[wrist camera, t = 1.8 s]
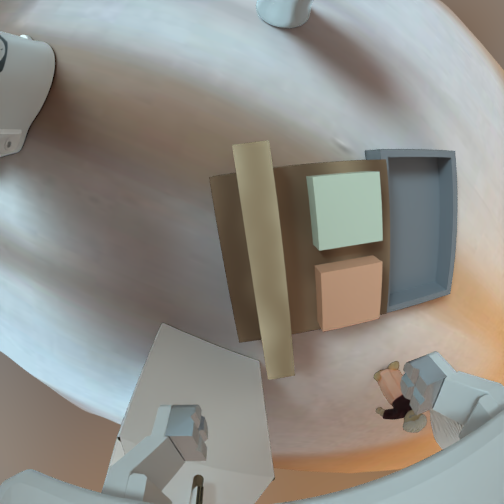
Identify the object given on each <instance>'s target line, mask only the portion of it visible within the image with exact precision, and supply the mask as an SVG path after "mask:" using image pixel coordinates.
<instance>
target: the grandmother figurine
mask: <svg viewBox="0 0 504 504" xmlns="http://www.w3.org/2000/svg"><path fill="white" fill-rule="evenodd" d="M398 368H399V363H398V362H397V361H395V362H393V363H391V364H390V365H389V367H388V369H385V370H380V371H378V372H377V373H376V374H375V375H374V379H375V380H376V381H377V382H378V384H379V386H380V388H381V390H382V393H383V394H384V396H385V397H386V399H387V401H388V402H389V403H390V404H391V405H392V406H393V407H394V409H388V410H385V409H382V408H381V407H378V408H377V409H376V413H377V414H380V415H381V416H382V417H383V419H399V418H404V423H403V430H405V431H407V432H411V433H412V432H413V433H414V432H419V431H420V430H422V429H423V428H424V427H425V425H426V423H427V419H426V416H425V415H423V414H418V415H416V414H415V413H414V411H413V409H412V408H411V406H410V400H409V399H407V398H405V397H404V395H403V394H402V391H401V386H400V382H401V378H402V376H403V375H402V374H401V372H400V371H399V370H398Z"/></svg>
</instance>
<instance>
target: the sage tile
mask: <svg viewBox="0 0 504 504" xmlns="http://www.w3.org/2000/svg"><path fill="white" fill-rule="evenodd" d="M306 179H307V187H308V196H309V206H310V216H311V226H312V238H313V245H314V246H315V247H316V248H317V249H318V250H319V251H321V250H327V249H333V248H340V247H346V246H352V245H358V244H364V243H371V242H377V241H383V228H382V201H381V185H380V173H379V172H377V171H361V172H347V173H335V174H324V175H314V176H306Z"/></svg>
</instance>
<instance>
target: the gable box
mask: <svg viewBox="0 0 504 504" xmlns="http://www.w3.org/2000/svg"><path fill="white" fill-rule="evenodd" d="M160 405H199V406H200V408H201V410H202V412H201V415H202V416H203V417H205V419H206V422H207V426H208V439H207V440H206V441H205V444H206V446H207V457H206V461H185V463H184V464H183V466H182V467H181V468H180V469H179V471H178V472H177V473H176V474H175V476H174V477H173V478H172V479H171V480H170V482H169V483H168V484H167V485H166V486H165V488H164V489H163V490H162V491H161V492H163V493H164V494H165V495H166V496H167V497H168V498H169V499H170V500H171V501H172V504H255V502H256V501H257V500H258V498H259V497H260V495H262V493H263V492H264V491H265V489H266V488H267V487H268V485H269V484H270V483H271V482H272V481H273V480H274V479H275V475H274V468H273V461H272V453H271V446H270V439H269V431H268V424H267V416H266V409H265V401H264V393H263V386H262V378H261V370H260V363H259V361H258V360H255V359H252V358H249V357H246V356H243V355H241V354H238V353H235V352H232V351H230V350H227V349H225V348H222V347H219V346H217V345H214V344H212V343H209V342H207V341H204V340H202V339H199V338H197V337H194V336H192V335H190V334H187V333H185V332H183V331H180V330H178V329H176V328H173V327H171V326H169V325H167V324H165V323H162V324H161V326H160V328H159V330H158V333H157V335H156V337H155V340H154V342H153V345H152V347H151V349H150V352H149V354H148V357H147V359H146V362H145V364H144V366H143V369H142V371H141V374H140V377H139V379H138V382H137V384H136V387H135V389H134V392H133V395H132V397H131V400H130V402H129V405H128V408H127V411H126V413H125V416H124V419H123V422H122V424H121V427H120V430H119V433H118V436H117V439H116V442H115V446H114V449H113V453H112V457H111V460H110V464H109V468H110V467H111V466H112V465H113V464H115V463H116V462H117V461H118V460H120V459H121V458H122V457H123V456H124V455H126V454H127V453H128V452H129V451H130V450H132V449H133V448H134V447H135V446H136V445H137V444H139V443H140V442H141V441H142V440H143V439H144V438H146V437H147V436H151V434H152V430H153V427H154V423H155V419H156V415H157V412H158V408H159V407H160ZM109 468H108V470H109ZM107 473H108V472H107Z"/></svg>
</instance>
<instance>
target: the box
mask: <svg viewBox="0 0 504 504" xmlns="http://www.w3.org/2000/svg"><path fill="white" fill-rule="evenodd" d="M365 156H366V160H377V159H386V163H387V174H388V187H389V206H390V271H389V290H388V303H387V313H388V312H392V311H395V310H399V309H403V308H406V307H410V306H413V305H416V304H420V303H423V302H426V301H429V300H433V299H436V298H439V297H442V296H445V295H448V294H450V291H451V284H452V277H453V269H454V260H455V249H456V235H457V171H456V157H455V151H447V150H422V149H378V150H367V151H365Z"/></svg>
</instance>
